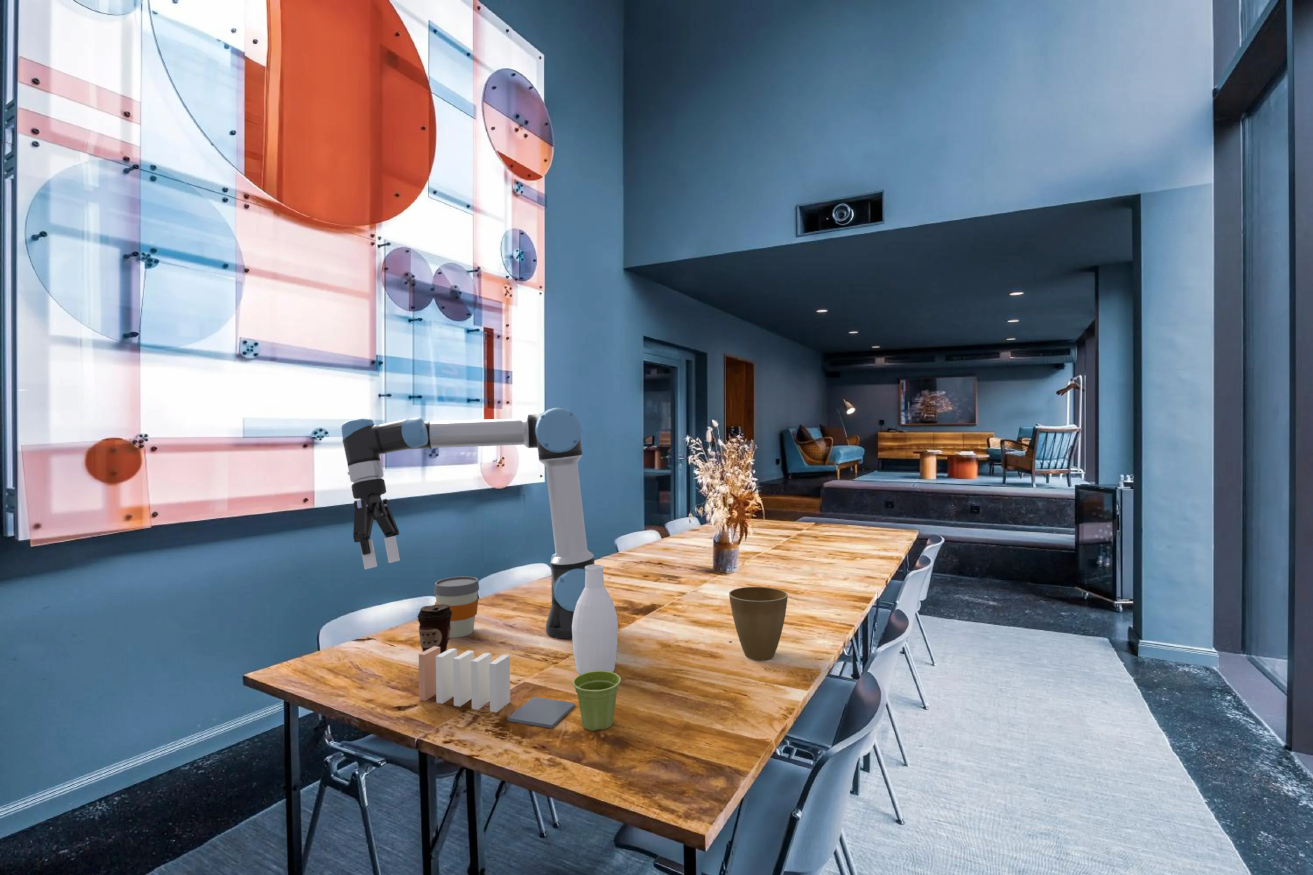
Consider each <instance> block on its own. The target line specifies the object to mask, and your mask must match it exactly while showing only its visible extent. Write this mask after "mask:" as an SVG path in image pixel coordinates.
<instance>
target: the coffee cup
mask: <svg viewBox="0 0 1313 875" xmlns="http://www.w3.org/2000/svg"><path fill="white" fill-rule="evenodd" d="M419 610H420V611H419V613H418V614H417V621H418V623H419V626H418V632H419V642H420V647H421V649H422V652H424V651H426V650H428V649H430V648H432V647H434V646H437V647H440V654H441V653H443V652H445V651H447V650H448V649H447V648H448V643H449V641H450V639H451V638H450V630H451V626H450V621H451V616H452V610H450V606H449V605H446V604H439V605H435V604H431V605H424V606H422V607H421V608H420V609H419Z"/></svg>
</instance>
